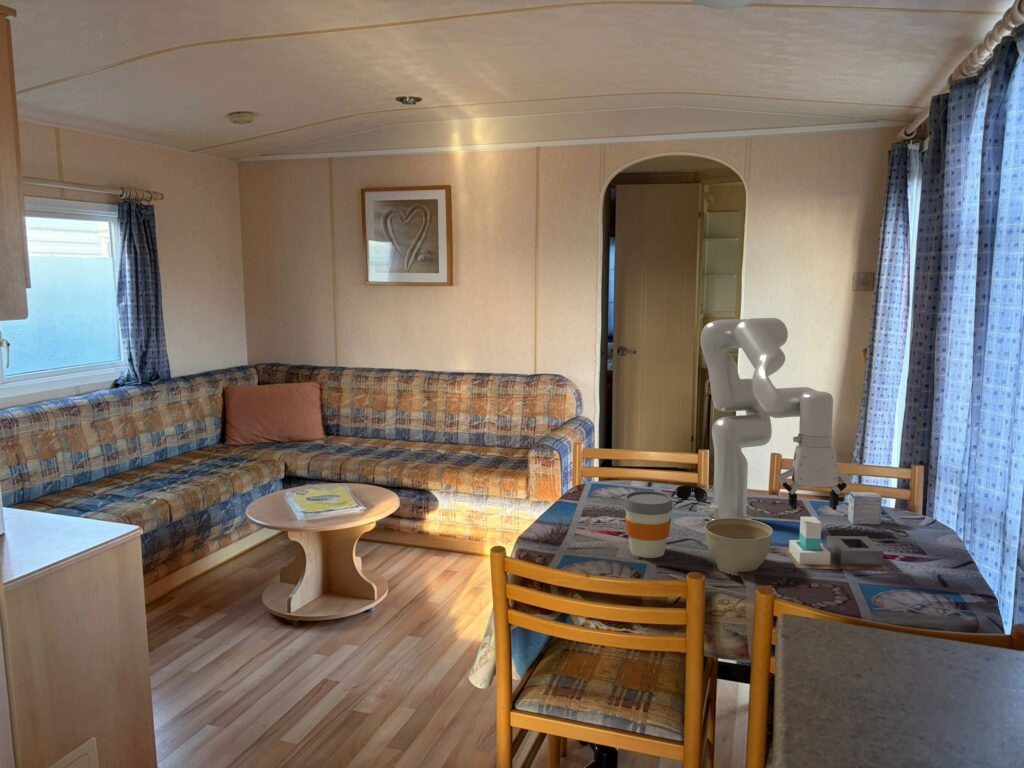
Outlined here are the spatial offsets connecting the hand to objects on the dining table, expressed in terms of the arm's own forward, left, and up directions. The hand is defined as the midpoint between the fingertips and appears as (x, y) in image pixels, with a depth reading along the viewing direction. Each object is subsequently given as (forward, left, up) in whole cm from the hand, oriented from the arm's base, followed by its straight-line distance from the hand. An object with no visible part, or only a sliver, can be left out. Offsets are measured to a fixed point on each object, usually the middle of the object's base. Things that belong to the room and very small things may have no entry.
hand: (813, 508), depth 186 cm
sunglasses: (-24, +49, -15) cm, 56 cm away
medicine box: (+26, +34, -15) cm, 45 cm away
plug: (0, +1, -13) cm, 13 cm away
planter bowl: (-19, -4, -15) cm, 25 cm away
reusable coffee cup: (-40, +7, -15) cm, 43 cm away
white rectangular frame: (0, +1, -13) cm, 13 cm away
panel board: (+6, +1, -15) cm, 16 cm away
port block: (+11, +1, -13) cm, 17 cm away
